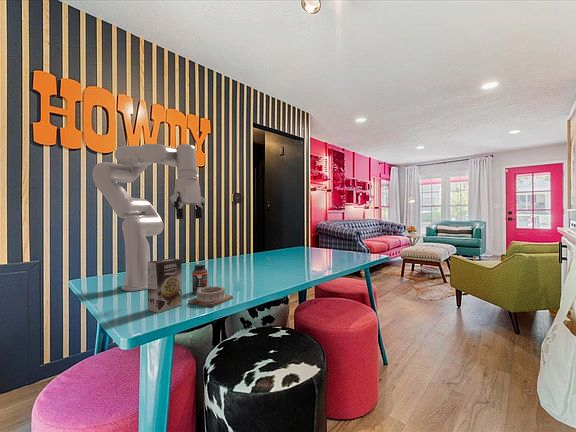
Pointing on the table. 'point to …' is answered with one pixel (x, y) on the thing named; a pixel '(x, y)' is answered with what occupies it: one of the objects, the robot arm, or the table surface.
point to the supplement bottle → (199, 277)
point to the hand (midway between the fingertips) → (189, 218)
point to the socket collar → (210, 296)
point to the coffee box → (164, 284)
